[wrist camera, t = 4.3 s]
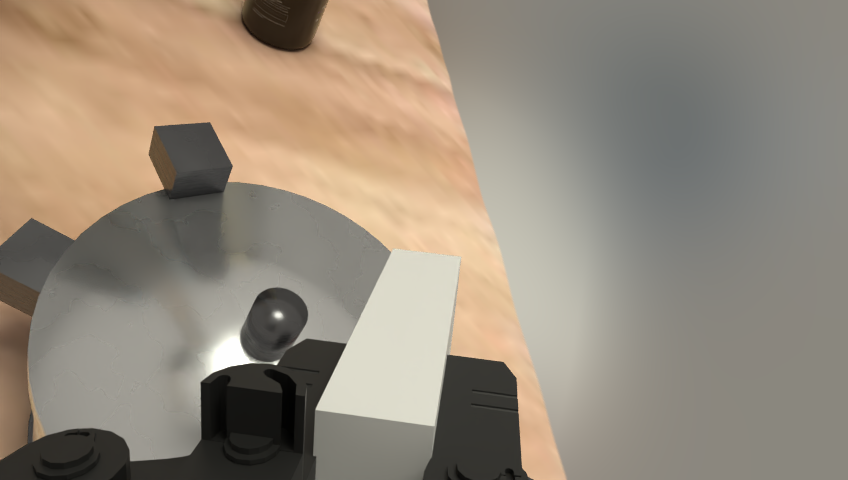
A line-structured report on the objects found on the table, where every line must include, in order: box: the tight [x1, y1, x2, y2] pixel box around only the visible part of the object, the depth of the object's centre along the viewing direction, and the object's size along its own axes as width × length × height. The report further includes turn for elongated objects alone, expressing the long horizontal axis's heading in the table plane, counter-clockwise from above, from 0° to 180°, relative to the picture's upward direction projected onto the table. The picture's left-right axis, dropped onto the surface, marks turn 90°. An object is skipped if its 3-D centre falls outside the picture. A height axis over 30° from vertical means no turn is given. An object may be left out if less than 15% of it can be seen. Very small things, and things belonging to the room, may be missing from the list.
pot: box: [0, 218, 533, 480], centre depth 34 cm, size 31×18×8 cm, turn 73°
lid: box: [27, 122, 391, 461], centre depth 27 cm, size 30×19×6 cm, turn 33°
